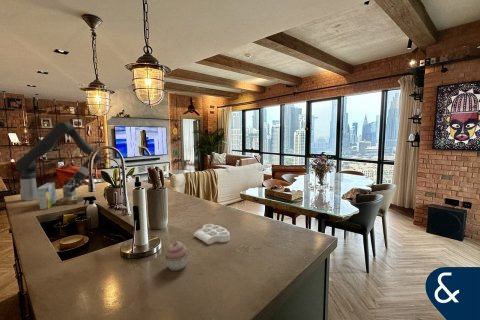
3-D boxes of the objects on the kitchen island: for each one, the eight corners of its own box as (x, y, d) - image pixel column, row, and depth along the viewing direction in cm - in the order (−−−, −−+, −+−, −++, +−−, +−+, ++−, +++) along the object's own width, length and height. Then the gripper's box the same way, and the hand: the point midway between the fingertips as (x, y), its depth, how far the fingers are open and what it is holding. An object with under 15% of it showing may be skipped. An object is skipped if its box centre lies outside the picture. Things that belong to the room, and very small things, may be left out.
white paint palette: (190, 235, 116) (214, 227, 126) (211, 248, 103) (236, 238, 112) (190, 229, 116) (214, 221, 125) (210, 241, 102) (236, 231, 112)
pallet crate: (63, 199, 174) (62, 186, 173) (68, 197, 180) (66, 184, 179) (72, 199, 175) (70, 186, 174) (76, 197, 181) (75, 184, 180)
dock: (56, 205, 172) (55, 200, 171) (64, 201, 182) (63, 197, 181) (77, 203, 174) (76, 199, 173) (83, 200, 184) (83, 196, 183)
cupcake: (159, 266, 88) (158, 241, 87) (181, 257, 95) (180, 233, 94) (172, 277, 82) (170, 249, 81) (194, 266, 88) (193, 240, 87)
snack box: (48, 202, 180) (46, 182, 178) (57, 201, 182) (55, 182, 181) (38, 210, 161) (35, 188, 159) (48, 208, 163) (46, 187, 162)
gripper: (72, 170, 185) (57, 187, 176) (83, 171, 179) (68, 189, 170) (80, 175, 190) (66, 192, 181) (91, 176, 184) (76, 194, 175)
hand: (67, 191), depth 176 cm, fingers open, 8 cm apart
